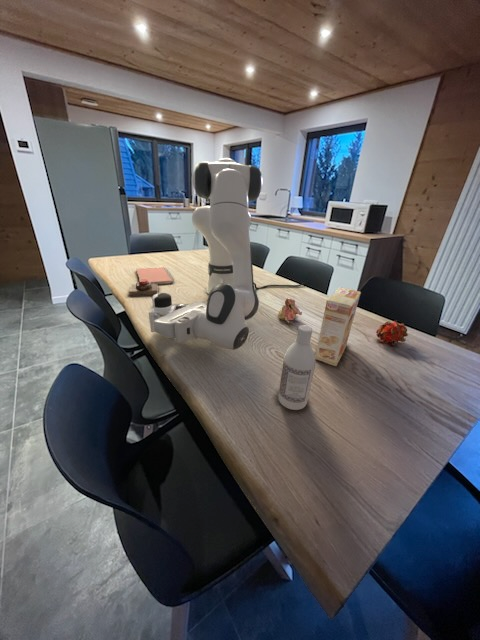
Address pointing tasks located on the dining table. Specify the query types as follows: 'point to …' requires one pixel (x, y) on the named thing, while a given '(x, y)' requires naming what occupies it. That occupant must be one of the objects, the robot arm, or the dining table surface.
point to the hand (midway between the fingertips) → (167, 310)
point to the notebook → (155, 275)
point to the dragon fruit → (392, 332)
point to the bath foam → (297, 371)
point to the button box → (143, 289)
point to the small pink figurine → (289, 310)
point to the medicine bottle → (161, 307)
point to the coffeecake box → (336, 325)
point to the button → (143, 282)
